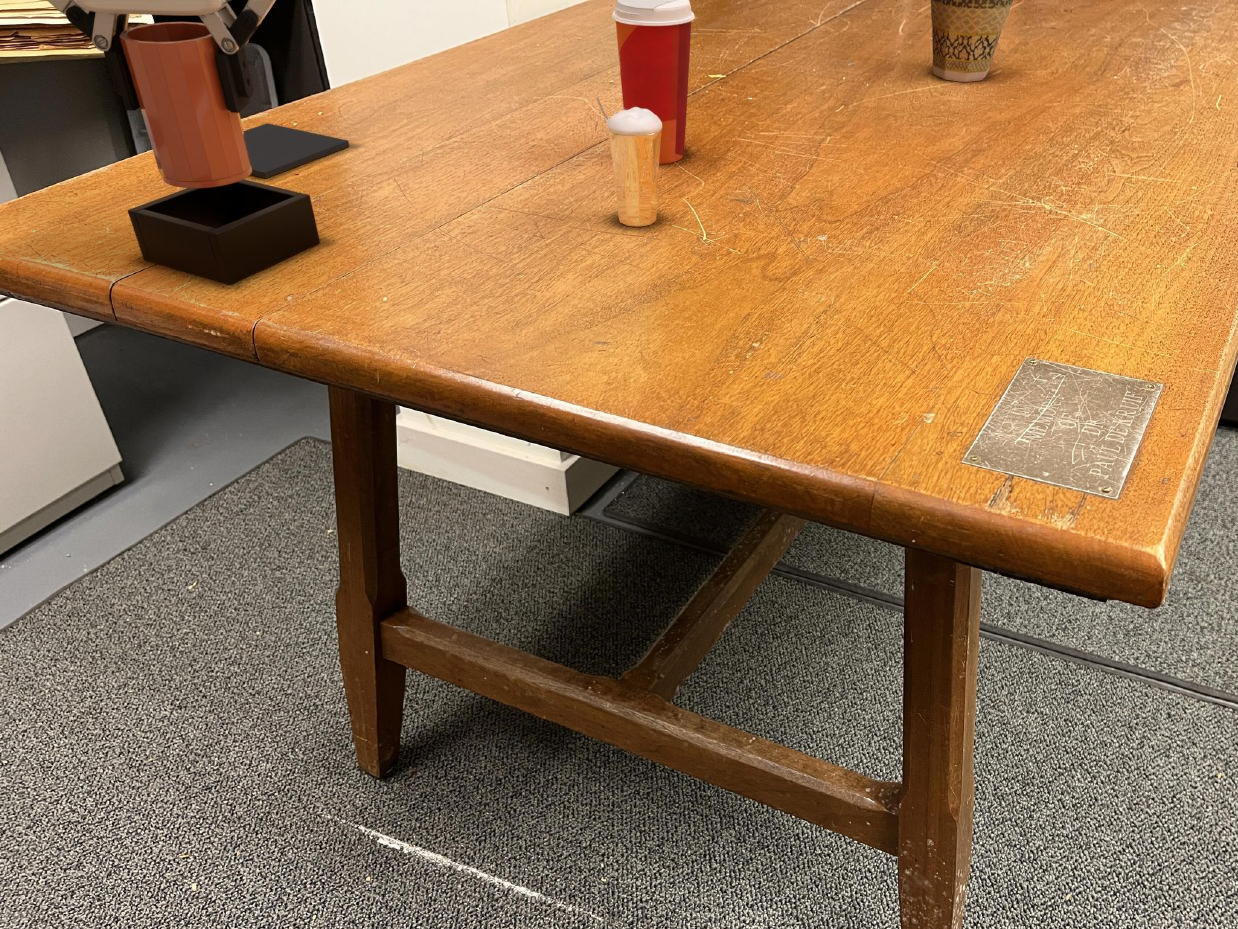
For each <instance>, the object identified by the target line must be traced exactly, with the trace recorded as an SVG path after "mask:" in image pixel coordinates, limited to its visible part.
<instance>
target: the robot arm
mask: <svg viewBox="0 0 1238 929" xmlns="http://www.w3.org/2000/svg"><path fill="white" fill-rule="evenodd" d="M46 1H47V2H48V3H49V4H50V5H51V6H53V7H54V9H56V10H57V11H58V12H59V13H61V14H63V15H64V16H65V17H66V20H68V22H69V23H70V24H72V25H73V26H74V27H75V28H76V29H78V30H79V31H80V32H82V33H83V34H84V35H85V36H87V38H89V39H90V40H91V41H92V44H93V46H94V47H95V48H96V49H97V50H98V51H100V52H103V55H104V59H105V61H106V64H107V65H106V66H107V67H108V68H107V69H108V72H109V74H110V78H111V81H112V84H113V87H114V91H115V92H116V94H117V95H119V96H121V98H122V102H123V106H124V109H125V110H126V111H131V112H132V111H137V110H138V109H141V108H140V105H139V101H138V98H137V94H136V91H135V88H134V84H133V81H132V77H131V74H130V71H129V67H128V64H127V60H126V57H125V53H124V50H123V47H122V43H121V40H120V34H121V32H123V31H125V30H127V29H128V26H129V21H130V20H129V19H130V15H148V16H149V15H150V16H152V15H153V16H158V15H159V16H198V17H199V18H200V20H201V21H202V23H203V24H205V26H206V27H207V29H208V30H209V32H210V33H211V35H212V36H213V38H214V39H215V41H216V42H217V44H218V47H219V51H220V53H218V54H217V55H216V56H215V61H216V66H217V70H218V74H219V78H220V82H221V86H222V90H223V94H224V98H225V102H226V106H227V109H228V111H230V112H231V113H239V114H240V113H241V112H242V111H243V110H244V109H245V108H246V107H247V106H248V105H249V104H250V102H251V98H252V97H253V95H254V84H253V80H252V75H251V71H250V67H249V62H248V58H247V54H246V48H245V46H246V45H247V44H248V43H249V41H250V39H251V38H252V37H253V35H254V34H255V32H256V31H257V30H258V28H259V27H260V25H261V24H262V23H263V20H264V19H265V17H266V16H267V15H268V13H269V11H270V10H271V9H272V7H273V5H274V4H275V2H276V1H277V0H247V2H246V4H245V6H244V8H243V9H242V11H241V12H240V13H238V16H237V15H236V13H235V12H234V10H233V9H232V7H231V6H230V4H229V3H228V2H230V1H232V0H46Z"/></svg>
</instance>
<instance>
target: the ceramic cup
mask: <svg viewBox="0 0 1238 929" xmlns="http://www.w3.org/2000/svg"><path fill="white" fill-rule="evenodd" d="M1013 1H1014V0H930V17H931V18H930V19H931V38H932V40H931V41H932V72H933V74H934V76H937V77H938V78H941V79H943V80H947V81H951V82H952V81H953V82H961V83H967V82H969V83H970V82H979V81H983V80H984V79H985V78H986V76H987V75H988V73H989V70H990V67H991V65H992V61H993V59H994V55H995V52H996V49H997V46H998V44H999V40H1000V37H1001V34H1002V31H1003V28H1004V26H1005V23H1006V21H1007V19H1008V17H1009V14H1010V11H1011V7H1012V5H1013Z"/></svg>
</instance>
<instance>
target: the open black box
mask: <svg viewBox="0 0 1238 929" xmlns="http://www.w3.org/2000/svg"><path fill="white" fill-rule="evenodd" d="M127 213H128V216H129V220H130V223H131V225H132V229H133V231H134V235H135V238H136V241H137V244H138V247H139V250H140V253H141V256H142V259H143V260H144V261H147V262H151V263H154V264H158V265H161V266H165V267H168V268H172V269H175V270H179V271H182V272H185V273H187V274H193V275H196V276H199V277H202V278H206V279H210V280H213V281H216V282H218V283H219V282H220V283H223V284H226V285H229V286H230V285H233V284H235V283H237V282H240V281H241V280H244V279H246V278H248V277H250V276H253V275H254V274H257V273H258V272H259V273H260V272H261V271H263V270H265V269H267V268H270V267H272V266H274V265H276V264H278V263H280V262H283V261H284V260H287V259H289V258H292V257H293V256H296V255H297V254H300V253H302V252H304V251H306V250H308V249H311V248H312V247H313V248H314V247H315V246H317V245H319V244H321V239H320V234H319V231H318V226H317V222H316V217H315V212H314V209H313V203H312V200H311V195H310V194H307V193H303V192H299V191H295V190H291V189H286V188H281V187H278V186H273V185H271V184H265V183H261V182H257V181H253V180H249V179H246V178H245V179H243V180H240V181H238V182H235V183H232V184H228V185H224V186H218V187H211V188H183V189H181V190H178V191H175V192H173V193H169V194H167V195H165V196H161V197H159V198H157V199H154V200H152V201H149V202H145V203H143V204H140V205H138V206H135V207H132V208H130V209H127Z"/></svg>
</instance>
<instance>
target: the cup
mask: <svg viewBox="0 0 1238 929" xmlns="http://www.w3.org/2000/svg"><path fill="white" fill-rule="evenodd" d="M120 40H121V43H122V47H123V50H124V53H125V57H126V60H127V64H128V67H129V71H130V74H131V77H132V81H133V84H134V88H135V91H136V94H137V98H138V101H139V105H140V108H139V109H140V111H141V114H142V118H143V122H144V125H145V128H146V132H147V135H148V138H149V142H150V146H151V149H152V153H153V155H154V159H155V161H156V166H157V169H158V173H159V174H160V177H161V179H162V181H163V182H164V183H165V184H167V185H170V186H172V187H177V188H182V189H186V188H211V187H218V186H224V185H228V184H232V183H235V182H238V181H240V180H243V179H245V180H246V178H248V177H249V176H251V175H250V174H251V172H252V167H251V160H250V156H249V152H248V148H247V144H246V139H245V135H244V131H245V130H244V127H243V123H242V119H241V115H240V112H239V113H231V112H230V111H228V109H227V106H226V102H225V98H224V94H223V90H222V86H221V82H220V78H219V74H218V70H217V66H216V61H215V56H216V55H217V54H218V53H220V51H219V47H218V44H217V42H216V41H215V39H214V38H213V36H212V35H211V33H210V32H209V30H208V29H207V27H206V26H205V24H204V23H203V22H193V21H191V22H190V21H169V22H156V23H147V24H142V25H138V26H134V27H130V28H127V30H125V31H123V32H121V34H120Z"/></svg>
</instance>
